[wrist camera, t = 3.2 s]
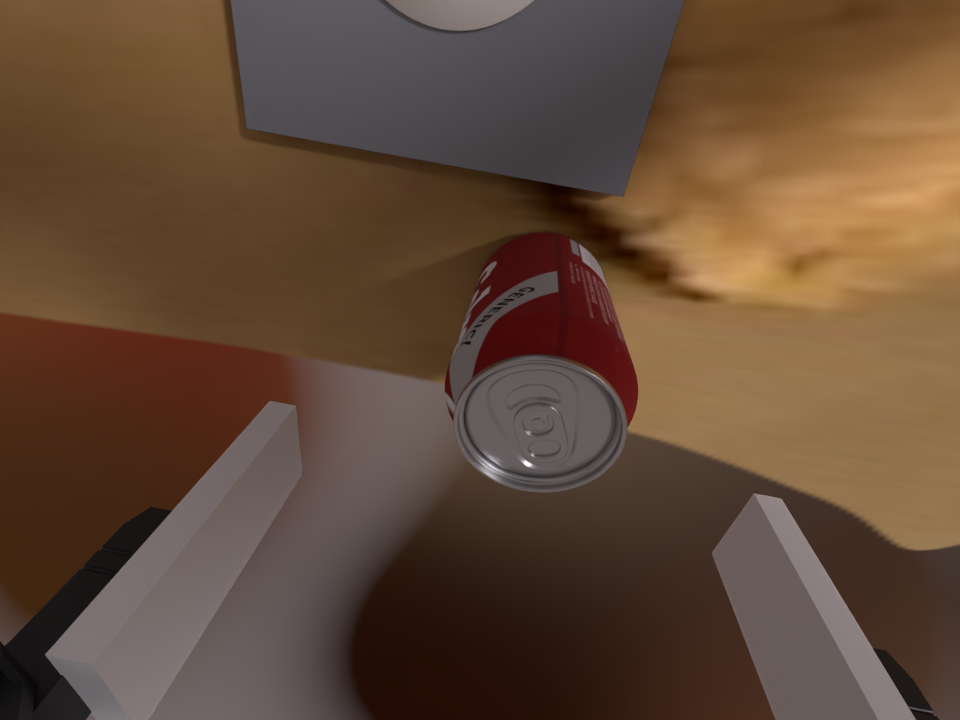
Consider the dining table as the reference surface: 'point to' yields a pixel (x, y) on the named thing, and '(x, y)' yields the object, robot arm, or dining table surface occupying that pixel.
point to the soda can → (541, 368)
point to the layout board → (462, 80)
